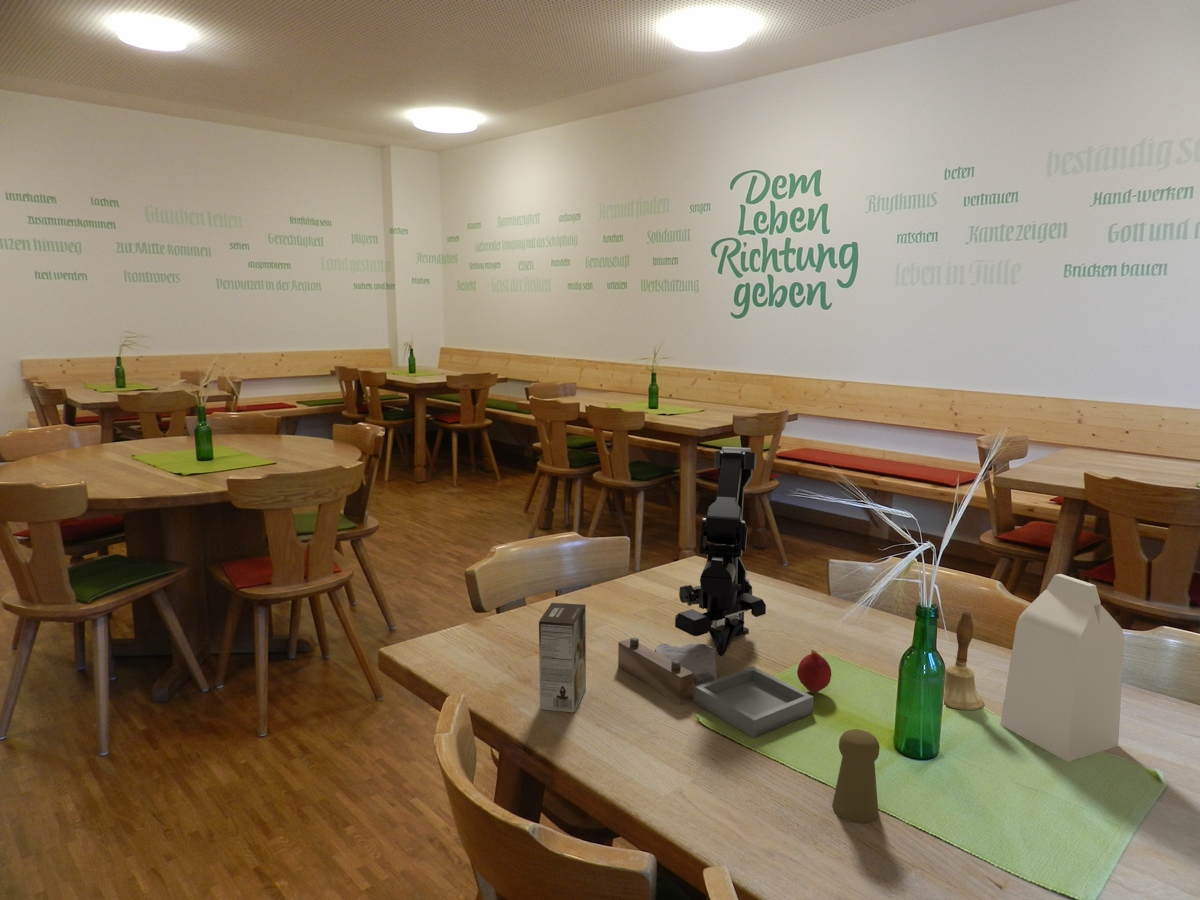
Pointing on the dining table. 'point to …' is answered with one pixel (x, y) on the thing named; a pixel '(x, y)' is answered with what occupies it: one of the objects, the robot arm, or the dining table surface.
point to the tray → (753, 701)
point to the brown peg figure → (857, 777)
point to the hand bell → (962, 672)
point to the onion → (814, 672)
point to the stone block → (693, 659)
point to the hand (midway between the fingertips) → (720, 655)
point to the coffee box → (562, 656)
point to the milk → (1066, 672)
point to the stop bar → (656, 670)
